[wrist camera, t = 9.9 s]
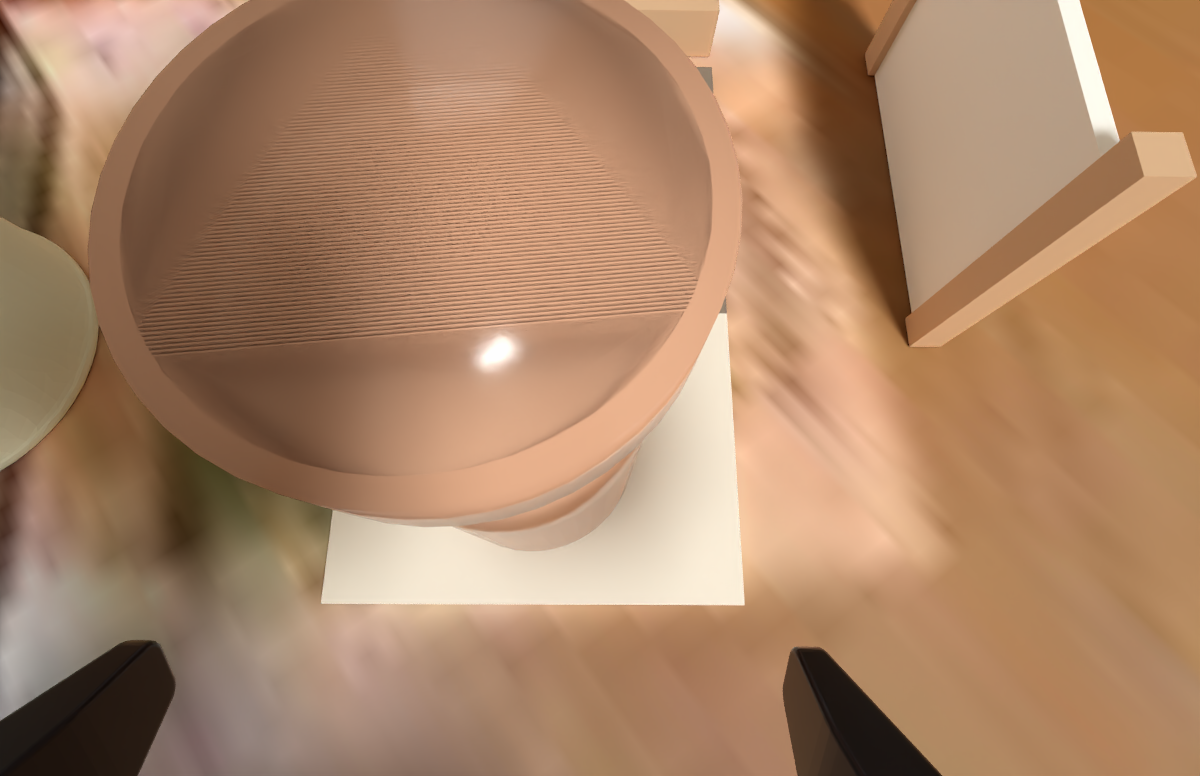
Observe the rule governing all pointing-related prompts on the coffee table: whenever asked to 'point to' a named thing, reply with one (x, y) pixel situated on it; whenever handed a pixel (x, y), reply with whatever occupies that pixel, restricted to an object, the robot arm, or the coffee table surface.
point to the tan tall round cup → (420, 254)
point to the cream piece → (933, 272)
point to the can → (40, 337)
